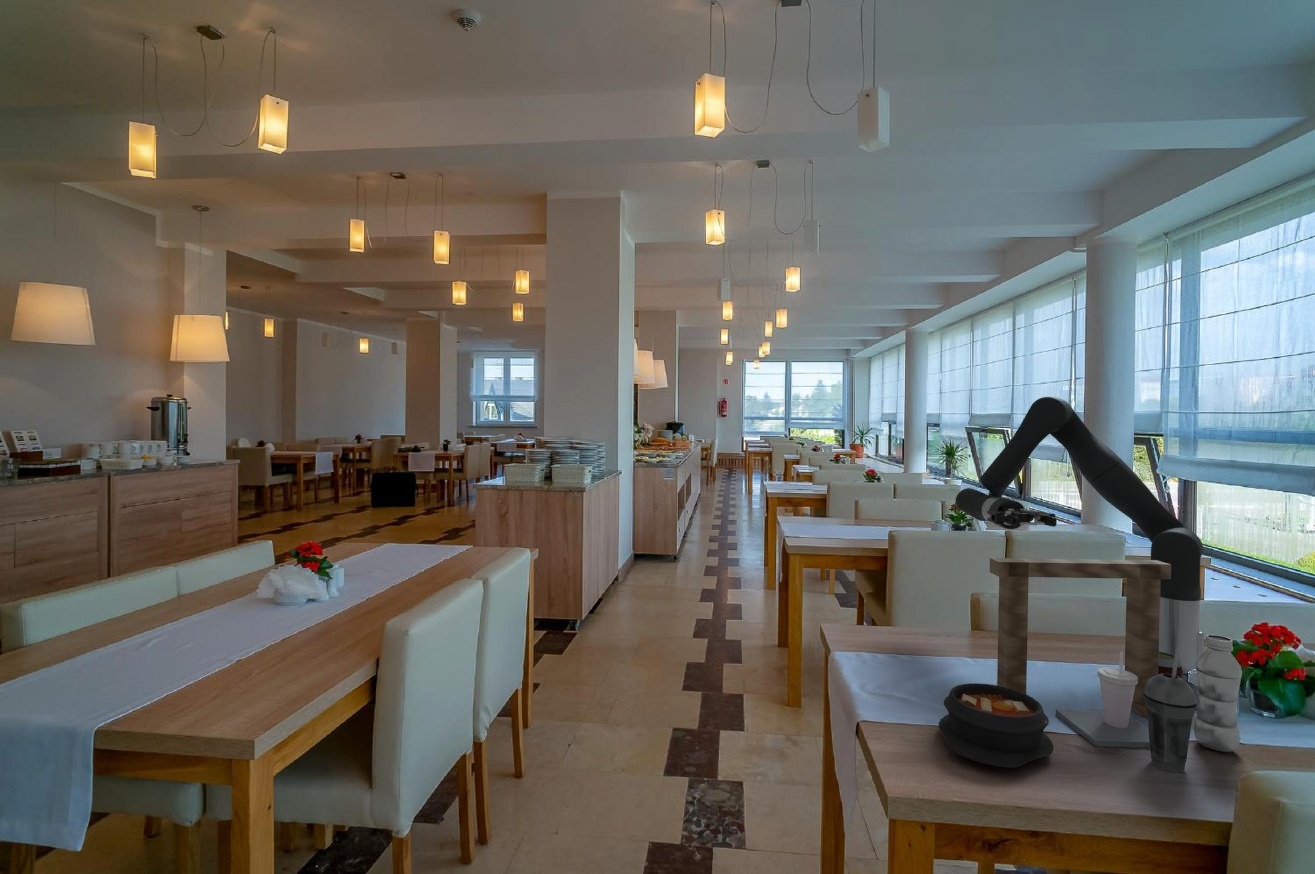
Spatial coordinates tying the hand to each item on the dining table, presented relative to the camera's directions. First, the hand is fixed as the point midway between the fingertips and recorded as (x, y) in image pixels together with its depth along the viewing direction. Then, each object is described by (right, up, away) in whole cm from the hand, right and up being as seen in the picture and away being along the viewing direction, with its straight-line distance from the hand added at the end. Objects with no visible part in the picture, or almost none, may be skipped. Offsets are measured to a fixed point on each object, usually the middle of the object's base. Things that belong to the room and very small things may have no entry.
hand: (1035, 522), depth 156 cm
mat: (-3, -36, -30) cm, 47 cm away
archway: (-3, -35, -19) cm, 40 cm away
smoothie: (-2, -35, -29) cm, 46 cm away
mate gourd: (+20, -36, -12) cm, 43 cm away
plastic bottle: (+12, -36, -37) cm, 53 cm away
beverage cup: (-2, -36, -43) cm, 56 cm away
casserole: (-28, -36, -36) cm, 58 cm away
